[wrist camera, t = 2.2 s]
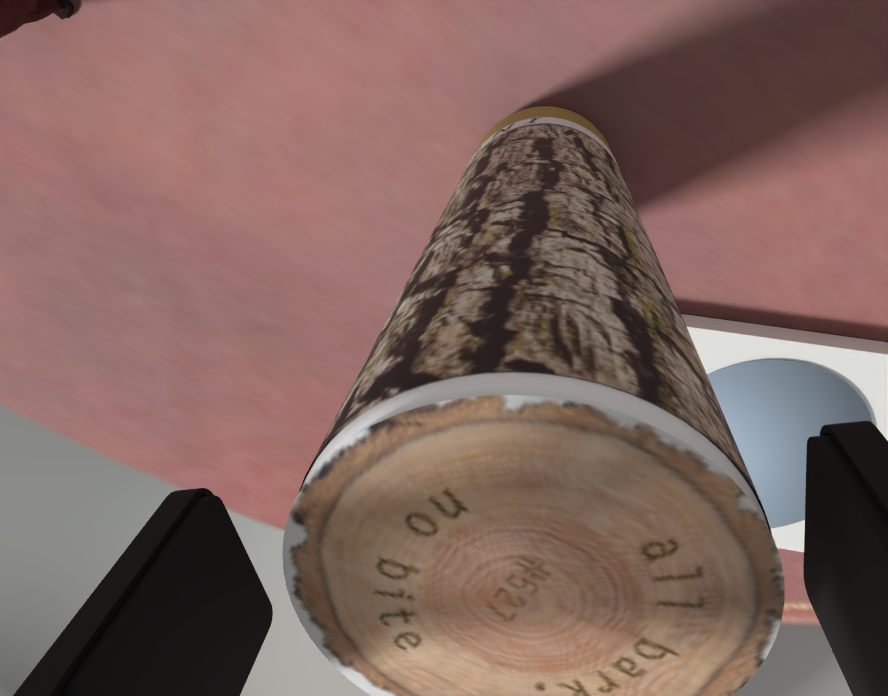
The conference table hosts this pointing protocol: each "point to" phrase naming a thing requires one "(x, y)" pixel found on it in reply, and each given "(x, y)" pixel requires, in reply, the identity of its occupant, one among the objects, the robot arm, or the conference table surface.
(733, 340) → the holder board
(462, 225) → the paper tube
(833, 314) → the conference table surface
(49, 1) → the mate gourd
